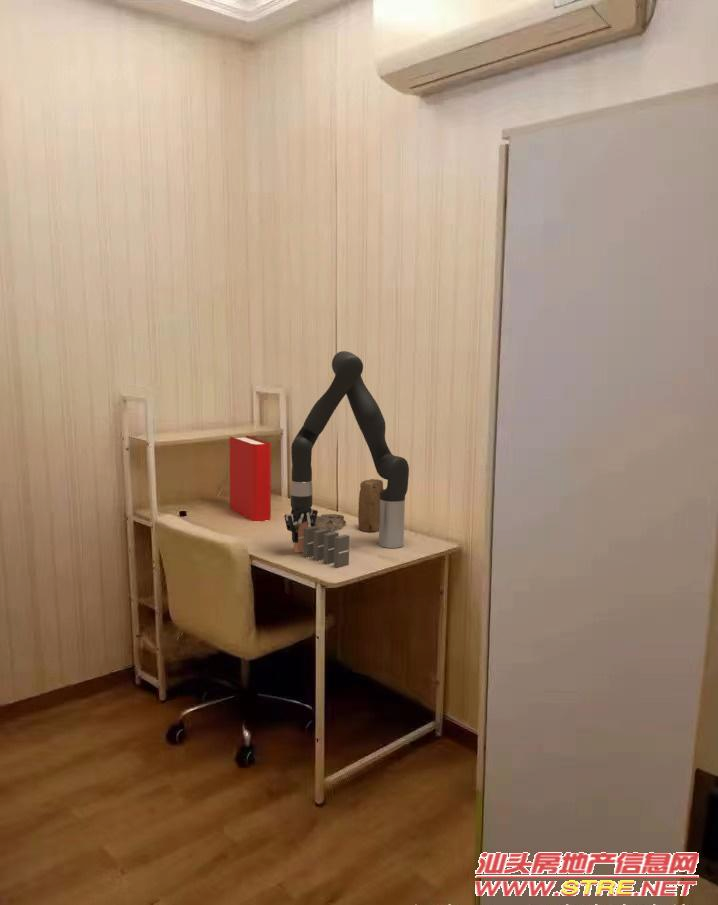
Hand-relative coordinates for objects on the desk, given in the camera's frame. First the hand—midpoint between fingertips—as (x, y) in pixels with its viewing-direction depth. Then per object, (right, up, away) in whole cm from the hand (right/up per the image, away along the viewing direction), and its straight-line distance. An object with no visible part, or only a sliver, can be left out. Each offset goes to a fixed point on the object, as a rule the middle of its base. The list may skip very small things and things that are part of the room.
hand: (301, 540), depth 257 cm
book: (-26, +4, +56) cm, 62 cm away
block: (+26, 0, +35) cm, 43 cm away
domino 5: (+14, -7, -13) cm, 20 cm away
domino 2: (+4, -5, -3) cm, 7 cm away
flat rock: (+7, +1, +37) cm, 38 cm away
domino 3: (+7, -6, -6) cm, 11 cm away
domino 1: (0, -3, 0) cm, 3 cm away
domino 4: (+11, -6, -10) cm, 16 cm away
